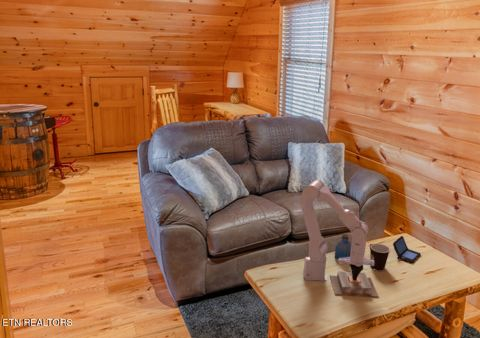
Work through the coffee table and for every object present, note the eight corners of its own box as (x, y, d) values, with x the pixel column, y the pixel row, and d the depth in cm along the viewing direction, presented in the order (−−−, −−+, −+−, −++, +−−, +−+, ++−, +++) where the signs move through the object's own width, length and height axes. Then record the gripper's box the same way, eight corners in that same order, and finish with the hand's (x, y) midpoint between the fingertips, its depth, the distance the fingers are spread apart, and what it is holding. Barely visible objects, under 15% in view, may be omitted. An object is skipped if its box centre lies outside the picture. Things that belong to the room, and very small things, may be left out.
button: (349, 287, 175) (350, 281, 174) (347, 281, 179) (348, 275, 178) (359, 288, 174) (360, 281, 173) (357, 282, 179) (358, 276, 178)
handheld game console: (412, 264, 196) (414, 250, 194) (390, 256, 203) (392, 243, 201) (421, 255, 205) (423, 242, 203) (400, 247, 212) (402, 235, 210)
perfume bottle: (339, 253, 205) (341, 231, 201) (351, 256, 201) (353, 234, 198) (334, 257, 200) (336, 235, 196) (346, 262, 197) (349, 239, 193)
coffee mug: (388, 273, 188) (391, 253, 185) (368, 270, 190) (371, 251, 187) (384, 260, 199) (387, 241, 196) (366, 258, 200) (368, 239, 197)
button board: (334, 295, 171) (335, 287, 170) (329, 276, 184) (330, 269, 183) (378, 297, 170) (379, 290, 169) (370, 278, 183) (371, 271, 182)
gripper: (342, 254, 168) (338, 283, 172) (377, 256, 167) (373, 285, 172) (339, 246, 175) (336, 274, 179) (373, 248, 174) (369, 275, 178)
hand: (354, 278), depth 176 cm, fingers closed, pressing on button
